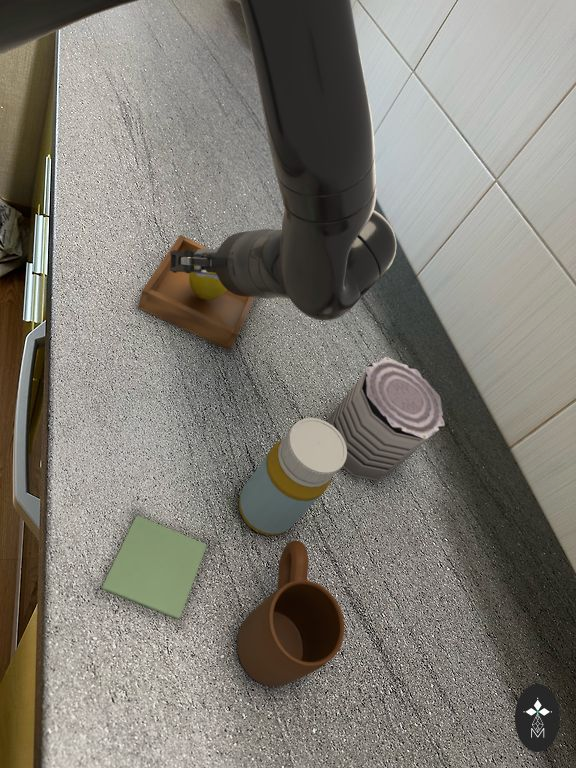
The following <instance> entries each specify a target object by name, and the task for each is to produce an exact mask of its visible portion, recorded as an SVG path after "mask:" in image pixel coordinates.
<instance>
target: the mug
mask: <svg viewBox="0 0 576 768" xmlns="http://www.w3.org/2000/svg"><path fill="white" fill-rule="evenodd" d="M278 562H279V563H278V570H277V571H278V572H277V589H276V590H274V591H273V592H272V593H271V594H269V595H268V596H267V597H266V598H265V599H264V600H262V602H260V603H259V604H258V605H257V606H256V607H255V608H254V609H253V610H252V611H251V612H250V613H249V614H247V616H246V617H245V619H244V620H243V622H242V624H241V625H240V628H239V631H238V633H237V635H238V636H237V643H236V645H237V653H238V654H237V655H238V658H239V660H240V662H241V665H242V667H243V670H245V672H246V673H247V674H248V675H249V676H250V677H251V678H252V679H253V680H254V681H256V682H258V683H259V684H262V685H264V686H268V687H275V688H276V687H284V686H286V685H289V684H292V683H293V682H296V681H297V680H300V679H302V678H304V677H306V676H308V675H309V674H312V673H314V672H316V671H318V670H319V669H321V668H323V667H324V666H325V665H327V664H328V663H329V662H330V661H332V659H334V657H335V656H336V655H337V654H338V653H339V651H340V649H341V647H342V645H343V642H344V637H345V618H344V615H343V611H342V609H341V606H340V605H339V603H338V601H337V600H336V598H335V597H334V595H333V594H332V593H331V592H330V591H329V590H328V589H327V588H325V586H323V585H321V584H319V583H317V582H315V581H311V580H308V573H309V554H308V550H307V547H306V545H305V544H304V543H303V542H302V541H300V540H290V541H289V542H288V543H287V544H285V546H284V548H283V550H282V552H281V555H280V558H279V561H278Z"/></svg>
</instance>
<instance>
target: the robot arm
mask: <svg viewBox="0 0 576 768" xmlns="http://www.w3.org/2000/svg"><path fill="white" fill-rule="evenodd" d="M139 1H140V0H0V55H3V54H5V53H7V52H11V51H13V50H16V49H18V48H20V47H22V46H25V45H27V44H30V43H32V42H34V41H37V40H40V39H41V38H42V39H43V38H44V37H46V36H49V35H51V34H53V33H55V32H58V31H60V30H62V29H64V28H66V27H68V26H71V25H73V24H75V23H78V22H81V21H83V20H85V19H88V18H90V17H92V16H95V15H98V14H101V13H104V12H107V11H110V10H112V9H116V8H119V7H121V6H122V7H123V6H126V5H128V4H132V3H136V2H139ZM239 3H240V8H241V12H242V16H243V19H244V23H245V28H246V32H247V37H248V42H249V47H250V51H251V56H252V60H253V61H252V62H253V66H254V67H253V68H254V71H255V72H254V73H255V76H256V82H257V88H258V93H259V97H260V103H261V108H262V115H263V119H264V124H265V129H266V136H267V139H268V145H269V150H270V151H269V152H270V155H271V160H272V165H273V168H274V172H275V176H276V180H277V184H278V189H279V192H280V196H281V201H282V205H283V207H284V210H283V216H282V222H281V229H273V228H261V229H255V230H248V231H241V232H236V233H234V234H232V235H229V236H228V237H227V238H225V240H224V241H223V242H222V243H221V244H220V246H219V247H218V246H217V247H216V248H209V249H198V250H197V251H196V253H195V252H194V251H191V249H187V250H183V251H177V250H173V251H170V250H169V251H170V255H171V261H170V271H173V273H177V272H185V273H188V274H189V273H196V275H197V276H198V277H212V278H215V279H217V280H220V282H221V283H222V285H223V286H224V287H225V288H226V289H227V290H228V291H230V292H231V293H233V294H236V295H239V296H245V297H255V299H264V300H265V299H270V300H271V299H277V298H280V299H289V300H290V301H291V303H292V304H293V305H294V307H296V309H297V310H298V311H300V312H301V313H302V314H303V315H305V316H307V317H309V318H311V319H313V320H318V321H322V322H323V321H324V322H325V321H334V320H337V319H339V318H341V317H343V316H344V315H346V314H347V313H348V312H349V311H350V310H351V309H353V307H354V306H356V304H357V303H358V301H360V300H361V299H362V298H363V296H364V295H365V294H367V292H368V291H369V290H370V289H372V287H373V286H374V285H375V284H376V283H377V282H378V280H379V279H380V278H381V277H382V276H383V275H384V274H386V272H387V271H388V270H389V268H390V267H391V265H392V264H393V262H394V259H395V257H396V252H397V239H396V235H395V231H394V229H393V227H392V225H391V224H390V223H389V221H388V220H386V218H385V217H384V216H383V215H382V214H380V213H379V212H377V211H376V210H375V207H376V200H377V176H376V150H375V133H374V124H373V118H372V117H373V115H372V111H371V105H370V98H369V93H368V87H367V83H366V77H365V71H364V66H363V61H362V57H361V56H362V55H361V51H360V46H359V41H358V36H357V31H356V26H355V20H354V14H353V8H352V2H351V0H239ZM194 257H196V258H194ZM194 266H196V268H195V269H194ZM208 272H212V273H208Z"/></svg>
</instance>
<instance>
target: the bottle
mask: <svg viewBox="0 0 576 768" xmlns="http://www.w3.org/2000/svg"><path fill="white" fill-rule="evenodd" d="M346 457H347V448H346V444H345V441H344V439H343V437H342V435H341V434H340V433H339V431H338V430H337V429H336V428H335V427H333V426H332V425H331V424H329V423H328V421H326V420H323V419H320V418H317V417H305V418H302V419H300V420H298V421H297V422H295V423H294V424H293V425H292V426H291V428H290V429H289V430H288V432H287V433H286V434H285V436H284V437H283V438H282V439H280V440H278V441H277V442H276V443H274V445H273V446H271V449H270V450H269V451H268V453H267V454H266V455H265V457H264V458H263V460H262V461H261V462H260V464H259V465H258V467H257V468H256V469H255V471H254V472H253V473H252V475H251V476H250V477H249V479H248V480H247V482H246V484H245V485H243V488H242V490H241V491H240V493H239V497H238V510H239V513H240V515H241V517H242V520H243V521H244V522H245V524H246V525H247V526H248V527H249V528H251V530H252V531H255V532H256V533H258V534H262V535H264V536H279V535H281V534H283V533H285V532H286V531H288V530H289V529H290V528H291V527H293V525H294V524H295V523H296V522H297V521H298V520H299V519H300V518H301V517H302V516H303V515H304V514H305V513H306V512H307V511H308V510H309V509H310V508H311V507H312V506H313V505H314V504H315V503H316V502H317V501H318V499H319V498H321V497H322V495H323V494H324V493H325V491H327V490H328V488H329V486H330V484H331V480H332V478H333V477H334V476H335V475H336V474H337V473H338V472H339V471H340V470H341V469H342V468H343V467H342V466H343V465H344V463H345V460H346Z"/></svg>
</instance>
